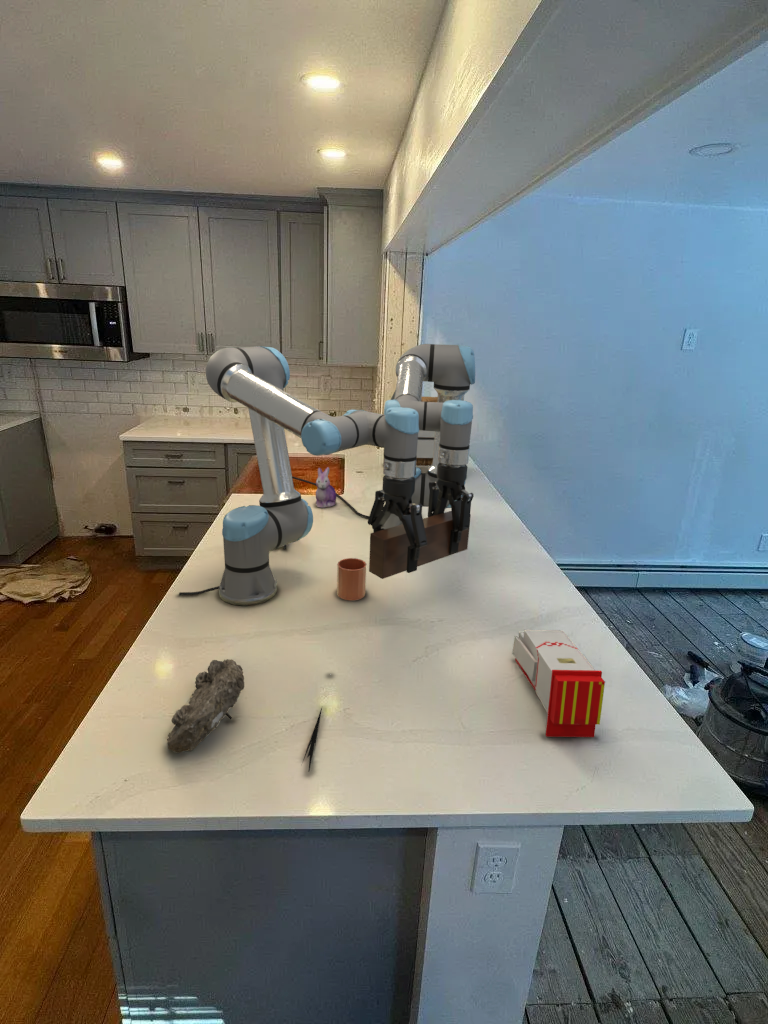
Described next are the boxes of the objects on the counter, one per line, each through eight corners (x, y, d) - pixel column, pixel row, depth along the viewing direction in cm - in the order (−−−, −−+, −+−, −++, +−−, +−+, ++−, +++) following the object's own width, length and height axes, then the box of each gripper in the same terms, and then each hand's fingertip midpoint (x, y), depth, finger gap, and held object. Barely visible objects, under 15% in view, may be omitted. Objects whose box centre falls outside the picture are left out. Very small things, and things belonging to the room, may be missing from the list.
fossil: (192, 660, 117) (244, 628, 112) (224, 691, 120) (276, 661, 115) (142, 746, 98) (202, 712, 93) (182, 779, 101) (242, 748, 96)
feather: (331, 679, 122) (336, 673, 122) (307, 777, 96) (313, 769, 95) (324, 675, 122) (329, 669, 121) (298, 772, 95) (304, 764, 95)
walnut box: (382, 579, 133) (384, 539, 130) (368, 571, 137) (370, 533, 133) (467, 549, 152) (470, 514, 148) (453, 543, 155) (456, 509, 152)
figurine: (319, 509, 219) (319, 472, 214) (309, 501, 228) (309, 465, 223) (341, 506, 224) (342, 470, 218) (331, 499, 232) (332, 463, 227)
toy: (559, 614, 131) (614, 677, 102) (553, 667, 134) (605, 744, 105) (507, 613, 131) (547, 676, 102) (503, 666, 134) (541, 743, 104)
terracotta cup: (331, 592, 157) (331, 562, 154) (353, 584, 162) (354, 555, 159) (348, 603, 152) (349, 573, 149) (371, 595, 157) (372, 565, 154)
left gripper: (354, 466, 137) (352, 549, 144) (423, 492, 120) (417, 584, 127) (378, 462, 141) (375, 543, 149) (448, 486, 124) (440, 575, 132)
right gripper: (416, 457, 146) (411, 541, 154) (470, 474, 133) (461, 564, 141) (437, 454, 150) (431, 535, 158) (490, 469, 138) (481, 557, 146)
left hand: (394, 562), depth 138 cm, fingers open, 11 cm apart
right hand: (445, 548), depth 150 cm, fingers closed on walnut box, 5 cm apart
